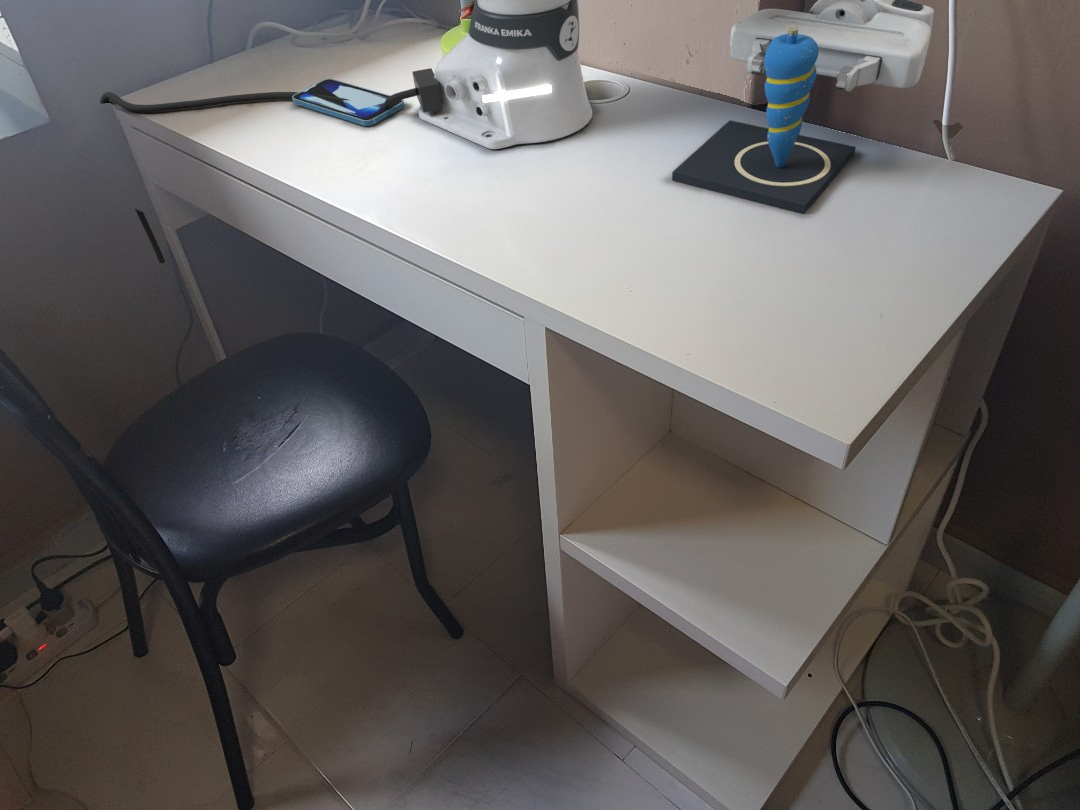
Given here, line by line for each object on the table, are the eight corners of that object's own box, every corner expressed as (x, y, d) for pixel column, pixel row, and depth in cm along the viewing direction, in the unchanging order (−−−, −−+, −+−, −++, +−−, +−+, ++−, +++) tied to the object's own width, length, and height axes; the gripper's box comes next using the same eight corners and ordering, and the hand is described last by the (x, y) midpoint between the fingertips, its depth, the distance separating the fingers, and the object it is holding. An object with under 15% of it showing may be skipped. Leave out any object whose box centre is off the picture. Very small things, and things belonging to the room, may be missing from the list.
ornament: (807, 177, 87) (831, 29, 77) (757, 180, 88) (774, 33, 77) (796, 154, 91) (817, 9, 81) (748, 157, 91) (763, 13, 81)
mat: (671, 180, 91) (672, 170, 91) (729, 128, 99) (729, 118, 98) (804, 214, 84) (805, 203, 84) (854, 155, 92) (856, 145, 92)
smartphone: (367, 122, 106) (288, 97, 113) (369, 129, 107) (290, 104, 113) (407, 100, 110) (328, 77, 117) (408, 107, 111) (329, 84, 117)
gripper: (762, -14, 95) (705, 27, 87) (950, 10, 85) (906, 59, 78) (756, 43, 99) (702, 87, 91) (935, 71, 90) (891, 124, 82)
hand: (797, 74), depth 84 cm, fingers open, 8 cm apart
